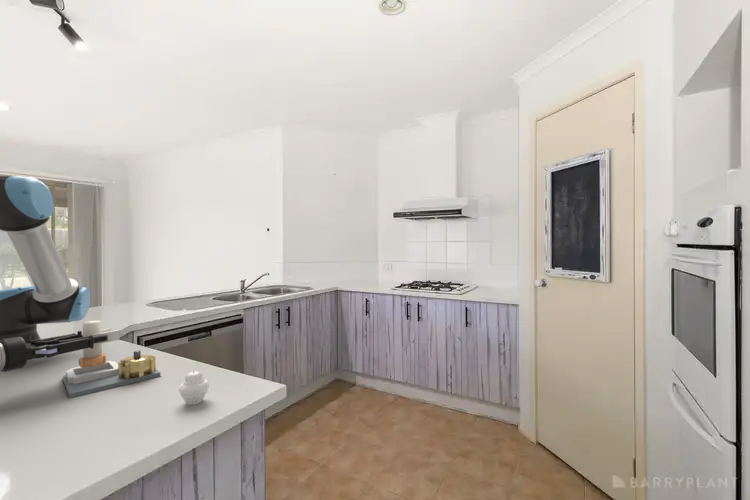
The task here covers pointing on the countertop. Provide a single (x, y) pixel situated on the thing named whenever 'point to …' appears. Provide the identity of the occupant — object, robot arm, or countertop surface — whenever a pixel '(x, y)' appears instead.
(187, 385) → the muffin
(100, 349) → the white cylinder orange base
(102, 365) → the carrier plate
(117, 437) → the countertop surface
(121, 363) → the sun gear
